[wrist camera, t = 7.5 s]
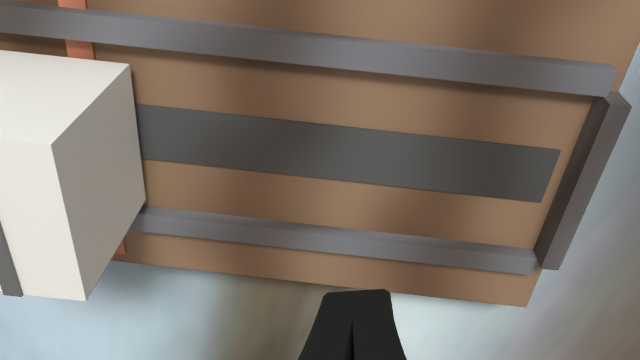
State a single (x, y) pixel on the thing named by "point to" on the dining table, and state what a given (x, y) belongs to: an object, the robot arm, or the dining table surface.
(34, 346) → the dining table surface
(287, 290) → the dining table surface
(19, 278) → the fader knob
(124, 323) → the dining table surface
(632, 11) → the console
